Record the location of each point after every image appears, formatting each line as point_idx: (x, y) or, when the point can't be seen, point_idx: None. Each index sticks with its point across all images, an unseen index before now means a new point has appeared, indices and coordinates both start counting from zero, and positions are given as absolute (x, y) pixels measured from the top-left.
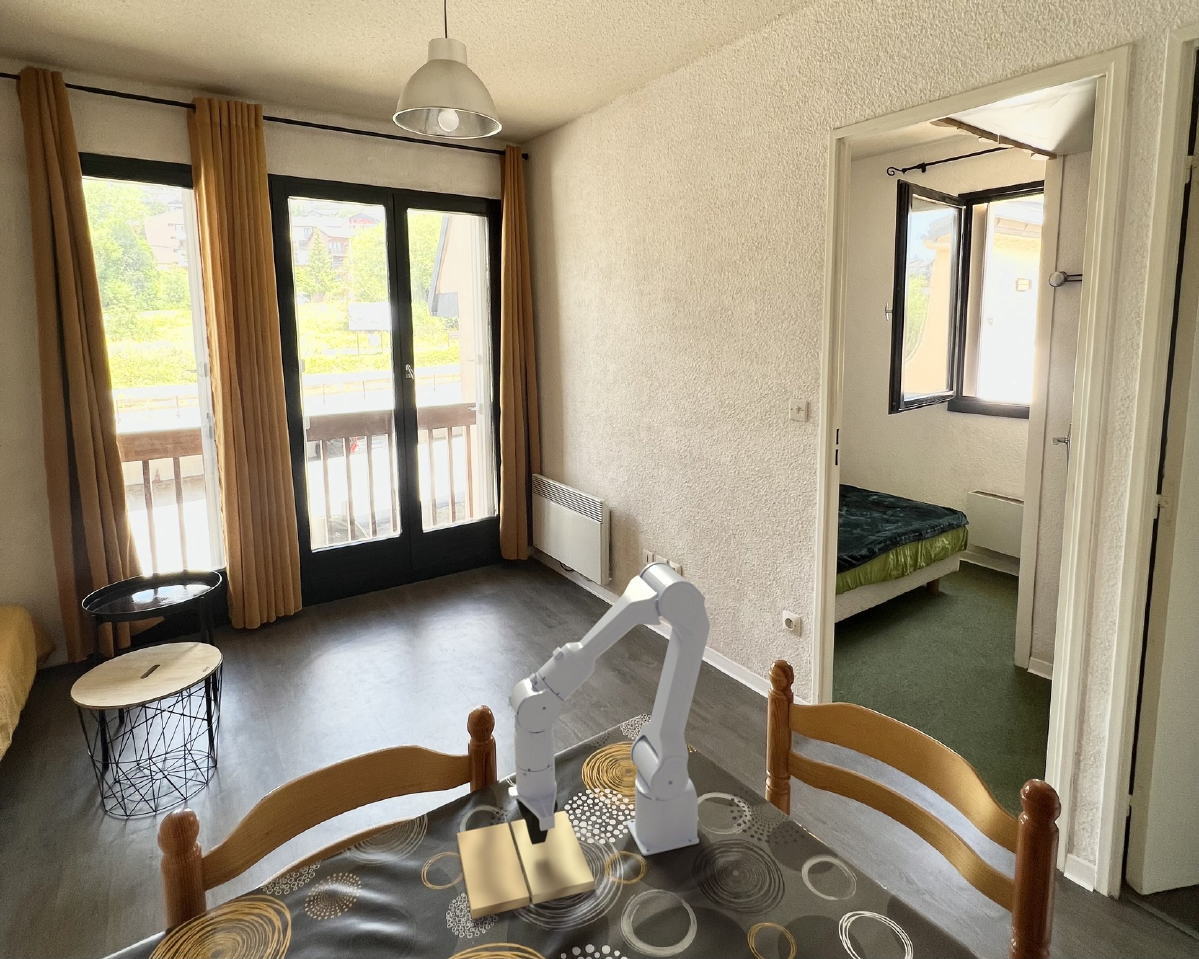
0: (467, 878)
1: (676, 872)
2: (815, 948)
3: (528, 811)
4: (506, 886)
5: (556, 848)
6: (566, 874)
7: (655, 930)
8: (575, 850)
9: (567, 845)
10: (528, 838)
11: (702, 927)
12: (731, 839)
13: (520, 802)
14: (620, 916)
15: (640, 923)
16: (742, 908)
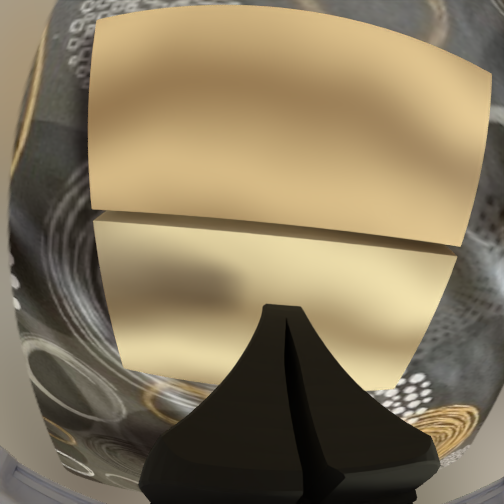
0: (248, 10)
1: (156, 440)
2: (52, 441)
3: (152, 496)
4: (148, 143)
5: None
6: (154, 330)
7: (50, 373)
8: None
9: None
10: (359, 286)
11: (61, 408)
12: None
13: (331, 483)
14: (70, 352)
15: (59, 366)
16: (91, 442)
